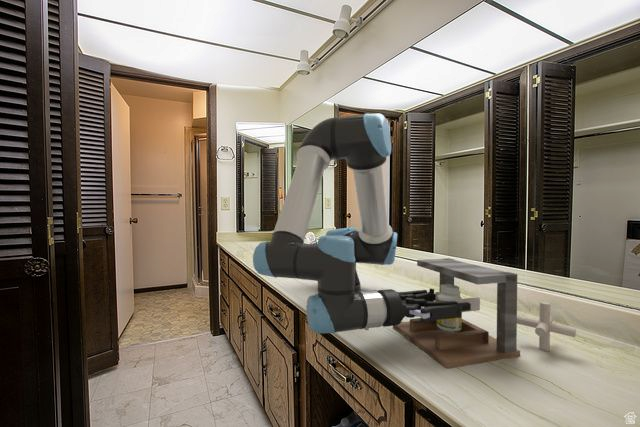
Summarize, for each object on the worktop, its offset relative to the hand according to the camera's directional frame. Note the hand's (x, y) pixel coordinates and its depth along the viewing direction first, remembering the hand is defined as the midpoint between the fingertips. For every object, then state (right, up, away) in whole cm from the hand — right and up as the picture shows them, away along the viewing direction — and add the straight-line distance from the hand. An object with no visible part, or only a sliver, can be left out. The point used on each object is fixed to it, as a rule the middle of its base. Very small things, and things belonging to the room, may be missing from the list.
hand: (468, 299), depth 68 cm
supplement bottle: (-5, -6, -1) cm, 8 cm away
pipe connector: (+14, -9, -5) cm, 17 cm away
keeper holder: (-5, -9, -1) cm, 10 cm away
